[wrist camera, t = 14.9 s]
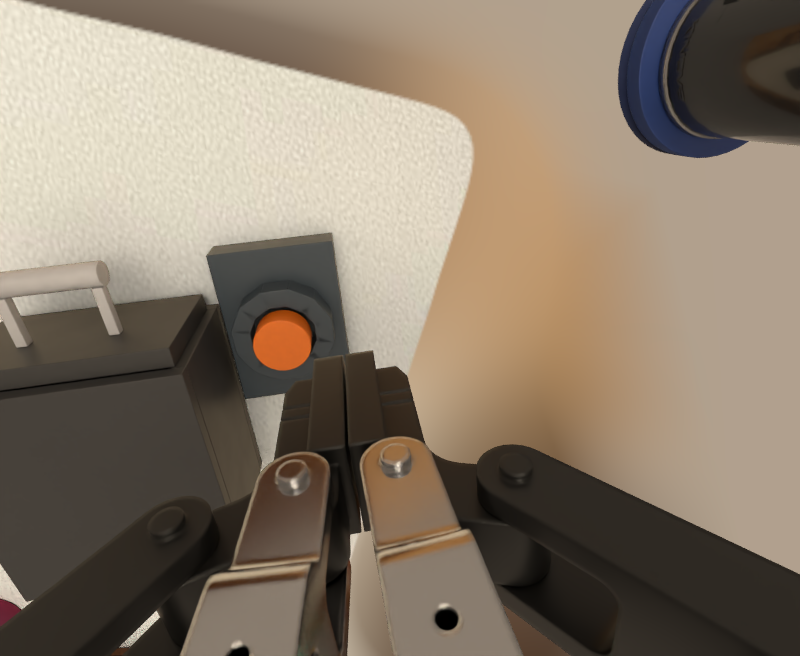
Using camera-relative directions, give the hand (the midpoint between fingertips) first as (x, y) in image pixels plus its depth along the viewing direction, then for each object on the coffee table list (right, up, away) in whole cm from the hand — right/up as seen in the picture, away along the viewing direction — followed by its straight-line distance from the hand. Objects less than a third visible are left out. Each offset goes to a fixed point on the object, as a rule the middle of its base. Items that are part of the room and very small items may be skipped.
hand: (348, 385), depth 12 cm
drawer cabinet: (-18, -4, +24) cm, 30 cm away
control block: (-7, +3, +22) cm, 24 cm away
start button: (-6, +1, +19) cm, 20 cm away
